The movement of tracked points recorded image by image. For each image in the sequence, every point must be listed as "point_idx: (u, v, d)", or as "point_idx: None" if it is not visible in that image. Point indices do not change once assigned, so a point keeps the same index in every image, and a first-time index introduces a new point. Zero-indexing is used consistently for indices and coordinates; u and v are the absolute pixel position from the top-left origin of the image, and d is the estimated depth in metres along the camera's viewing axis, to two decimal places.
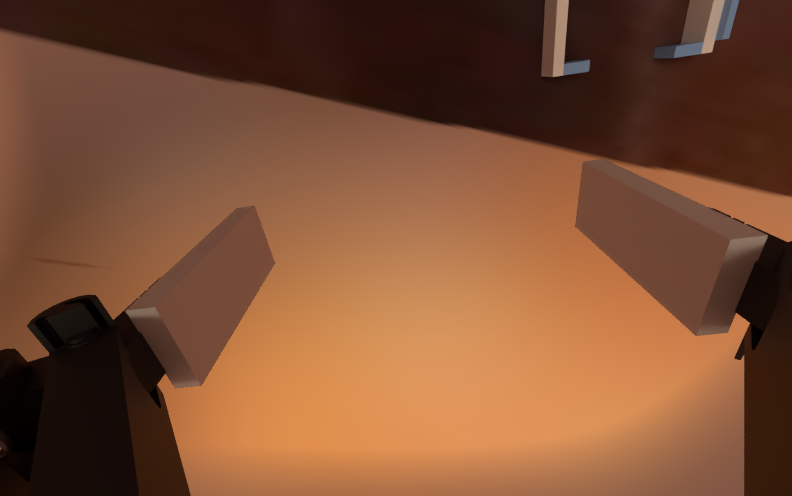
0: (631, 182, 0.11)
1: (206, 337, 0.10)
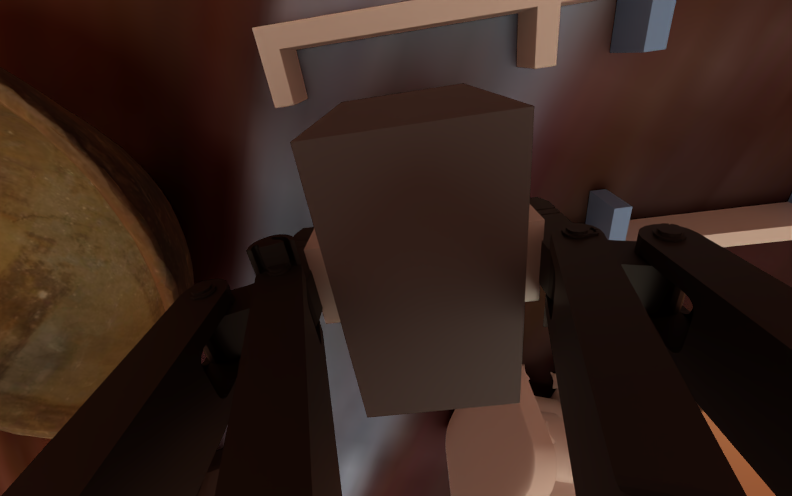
0: None
1: None
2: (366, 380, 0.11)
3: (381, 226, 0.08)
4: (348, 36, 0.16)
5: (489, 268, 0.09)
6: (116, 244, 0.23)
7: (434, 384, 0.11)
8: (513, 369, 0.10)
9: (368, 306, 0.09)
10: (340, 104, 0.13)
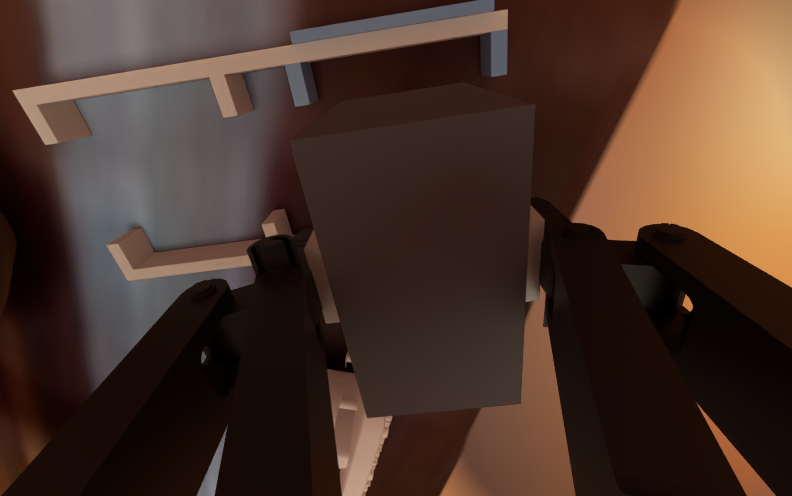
0: None
1: None
2: (366, 381, 0.11)
3: (380, 226, 0.08)
4: (83, 96, 0.23)
5: (490, 268, 0.09)
6: None
7: (434, 385, 0.11)
8: (514, 370, 0.10)
9: (368, 306, 0.09)
10: (340, 103, 0.13)
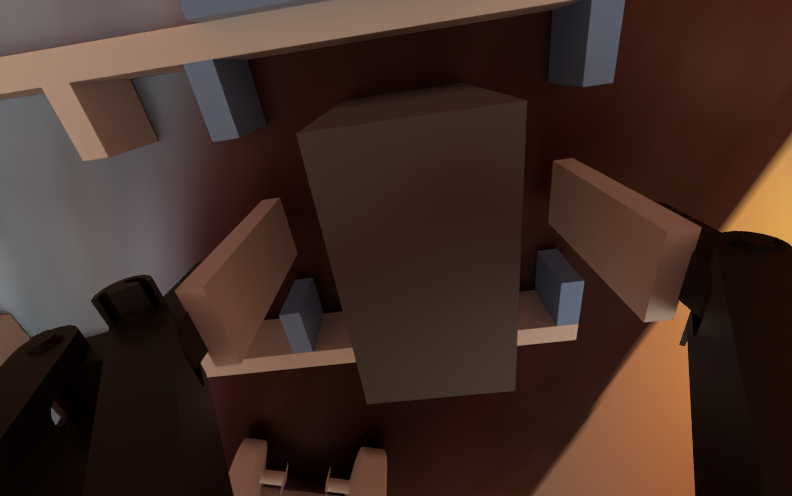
0: (592, 179, 0.11)
1: (243, 319, 0.10)
2: (366, 367, 0.11)
3: (382, 215, 0.08)
4: None
5: (485, 257, 0.09)
6: None
7: (432, 371, 0.11)
8: (508, 357, 0.11)
9: (369, 293, 0.10)
10: (342, 101, 0.14)
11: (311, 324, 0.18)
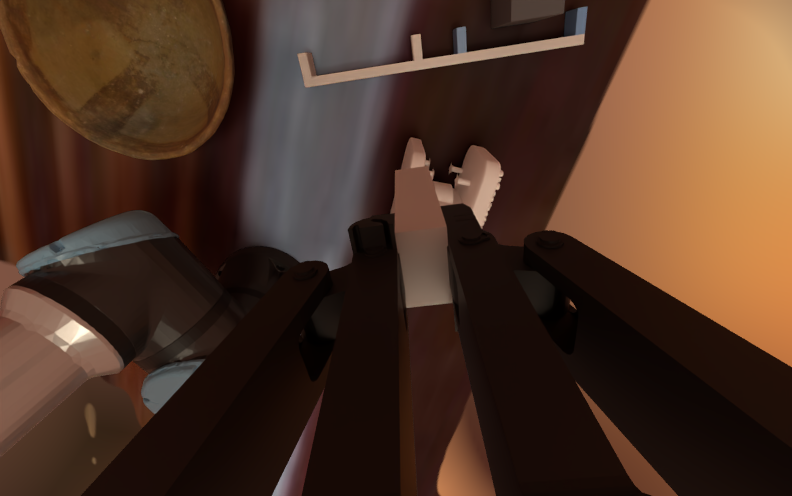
0: (419, 186, 0.13)
1: None
2: None
3: None
4: None
5: None
6: (184, 61, 0.40)
7: (536, 2, 0.33)
8: None
9: None
10: None
11: None
